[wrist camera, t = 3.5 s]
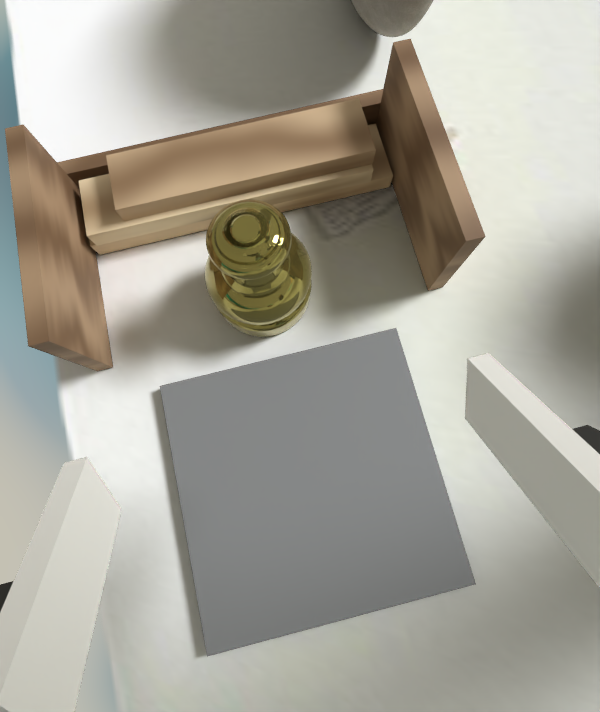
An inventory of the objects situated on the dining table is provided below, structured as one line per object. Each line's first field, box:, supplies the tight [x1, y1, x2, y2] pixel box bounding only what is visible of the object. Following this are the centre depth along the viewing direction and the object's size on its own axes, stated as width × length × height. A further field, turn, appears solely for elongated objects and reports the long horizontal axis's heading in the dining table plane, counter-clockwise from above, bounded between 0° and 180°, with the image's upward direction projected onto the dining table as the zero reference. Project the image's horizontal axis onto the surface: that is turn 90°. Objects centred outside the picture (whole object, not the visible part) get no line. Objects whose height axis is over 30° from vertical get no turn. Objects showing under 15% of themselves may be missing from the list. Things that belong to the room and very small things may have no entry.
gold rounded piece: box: [205, 199, 312, 337], centre depth 28 cm, size 7×7×10 cm
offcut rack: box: [5, 39, 485, 371], centre depth 30 cm, size 16×27×8 cm, turn 104°
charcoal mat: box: [160, 328, 476, 656], centre depth 29 cm, size 18×18×1 cm
